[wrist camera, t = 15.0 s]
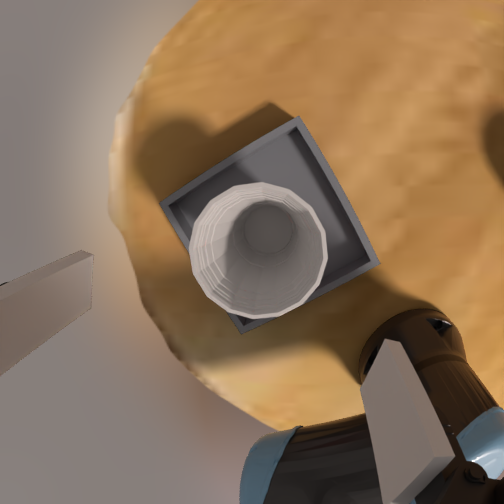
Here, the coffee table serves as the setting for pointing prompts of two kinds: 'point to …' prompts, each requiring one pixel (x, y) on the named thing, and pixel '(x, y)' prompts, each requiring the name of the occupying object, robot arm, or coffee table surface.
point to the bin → (290, 177)
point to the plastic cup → (258, 250)
